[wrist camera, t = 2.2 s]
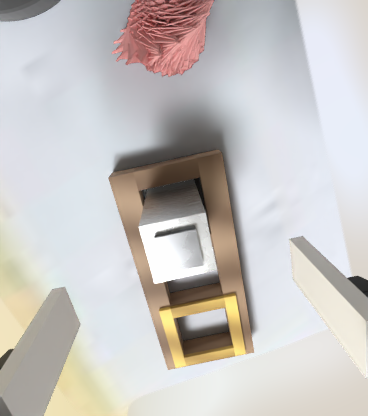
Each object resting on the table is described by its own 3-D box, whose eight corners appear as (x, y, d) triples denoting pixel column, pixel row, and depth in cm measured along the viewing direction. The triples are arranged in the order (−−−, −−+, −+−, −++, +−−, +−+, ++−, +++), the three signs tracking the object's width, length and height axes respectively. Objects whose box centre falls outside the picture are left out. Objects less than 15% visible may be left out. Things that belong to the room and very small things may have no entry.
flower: (228, 86, 19) (197, 0, 15) (130, 115, 22) (80, 52, 18) (232, 18, 23) (207, -67, 18) (147, 52, 26) (109, -14, 22)
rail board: (112, 172, 26) (107, 178, 24) (218, 149, 26) (222, 153, 24) (168, 355, 34) (168, 372, 32) (249, 338, 34) (255, 355, 32)
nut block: (147, 188, 27) (138, 229, 18) (193, 178, 27) (206, 214, 18) (158, 230, 29) (154, 286, 20) (202, 221, 29) (217, 273, 20)
